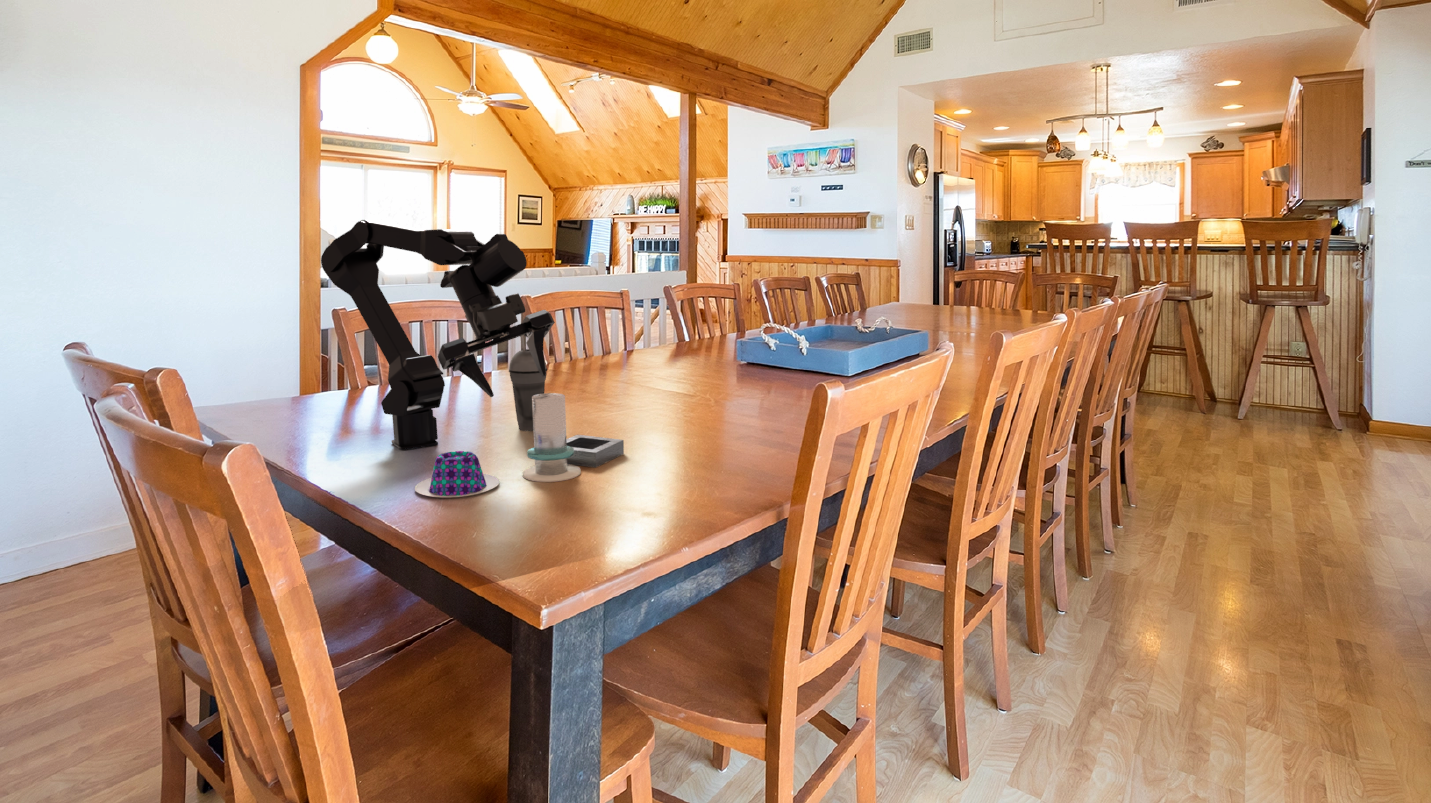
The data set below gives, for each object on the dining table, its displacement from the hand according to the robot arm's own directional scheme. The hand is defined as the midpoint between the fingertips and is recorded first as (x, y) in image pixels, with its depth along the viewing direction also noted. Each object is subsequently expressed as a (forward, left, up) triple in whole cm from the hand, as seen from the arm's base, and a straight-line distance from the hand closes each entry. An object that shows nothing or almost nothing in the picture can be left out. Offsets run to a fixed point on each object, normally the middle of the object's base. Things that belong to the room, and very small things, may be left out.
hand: (518, 386), depth 128 cm
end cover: (+1, -9, -12) cm, 15 cm away
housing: (+10, -4, -13) cm, 17 cm away
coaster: (+1, -9, -13) cm, 16 cm away
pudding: (-13, -8, -13) cm, 20 cm away
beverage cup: (+11, +21, -13) cm, 27 cm away
